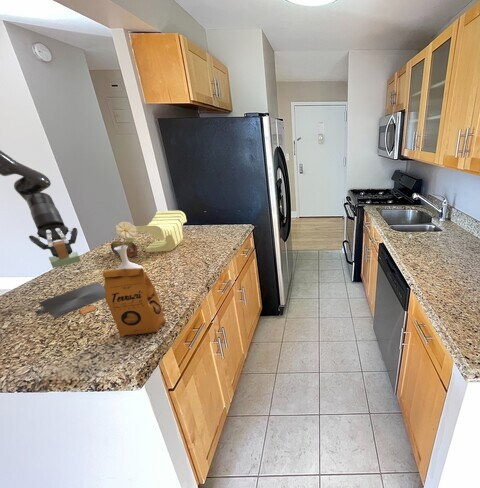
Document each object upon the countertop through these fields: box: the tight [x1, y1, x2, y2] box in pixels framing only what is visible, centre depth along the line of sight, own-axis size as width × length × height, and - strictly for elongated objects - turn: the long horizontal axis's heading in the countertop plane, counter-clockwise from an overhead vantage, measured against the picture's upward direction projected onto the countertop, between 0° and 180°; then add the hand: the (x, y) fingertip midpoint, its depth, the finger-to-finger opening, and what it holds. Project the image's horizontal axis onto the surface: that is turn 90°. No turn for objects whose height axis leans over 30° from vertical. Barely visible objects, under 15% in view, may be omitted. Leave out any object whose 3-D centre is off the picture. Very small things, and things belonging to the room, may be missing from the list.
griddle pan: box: [34, 281, 106, 319], centre depth 101 cm, size 23×18×1 cm
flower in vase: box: [112, 221, 144, 270], centre depth 116 cm, size 13×11×25 cm
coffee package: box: [102, 268, 166, 337], centre depth 82 cm, size 10×12×22 cm
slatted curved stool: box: [134, 209, 187, 253], centre depth 148 cm, size 30×16×18 cm, turn 6°
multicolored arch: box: [110, 239, 139, 258], centre depth 138 cm, size 15×3×8 cm, turn 76°
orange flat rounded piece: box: [79, 304, 98, 316], centre depth 93 cm, size 4×4×2 cm
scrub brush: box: [48, 240, 82, 269], centre depth 99 cm, size 8×5×8 cm, turn 139°
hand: (63, 254), depth 98 cm, fingers closed on scrub brush, 3 cm apart
